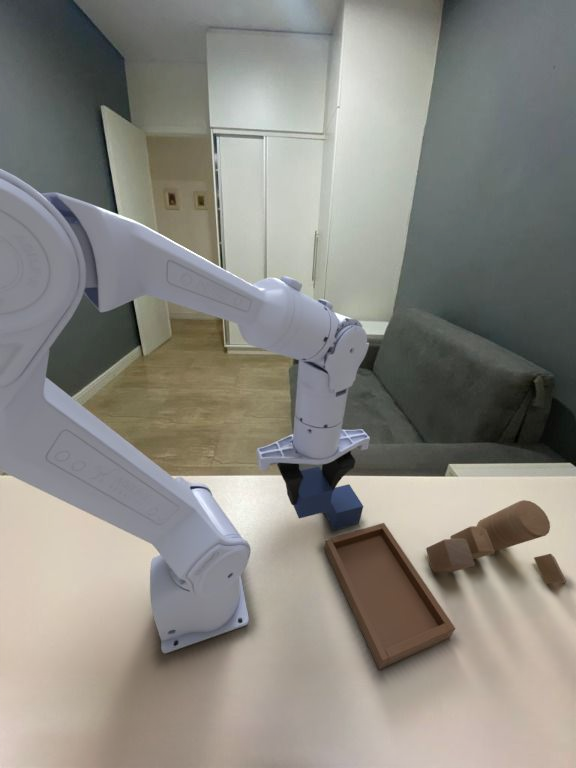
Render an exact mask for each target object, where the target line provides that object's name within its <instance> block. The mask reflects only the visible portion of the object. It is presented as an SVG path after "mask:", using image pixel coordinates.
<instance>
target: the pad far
mask: <svg viewBox="0 0 576 768" xmlns="http://www.w3.org/2000/svg"><path fill="white" fill-rule="evenodd" d="M363 509H364V505H363V503H362V502H361V500H360V499H359V497H358V495H357V493H356V492H355V491H354V489H353V488H352V486H351V485H350V484H344V485H340V486H336V487H335V489H334V490H333V492H332V498H331V504H330V510H329V511H326V512H323V513H324V514H325V517H326V519H327V520H328V523H329V524H330V527H331V529H332V530H333V531H337V530H341V529H344V528H347V527H351V526H355V525H359V524H360V523H361V519H362V518H361V517H362V513H363Z"/></svg>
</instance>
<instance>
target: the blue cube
mask: <svg viewBox="0 0 576 768" xmlns="http://www.w3.org/2000/svg"><path fill="white" fill-rule="evenodd" d="M300 471H301V473H302V475H303V477H304V478H303V480H302V482H301V484H300V487H299V493H298V501H297V504H295V505H292V507H293V508H294V510H295V513H296V515H297V519H303V518H307V517H311V516H315V515H318V514H323V513H324V512H326V511H329V510H330V504H331V498H332V492H333V490H332V488H331V486H330V484H329V483H328V481H327V479H326V478H325V476H324V474H323V472H322V468H321V467H320V466H315V467H309V468H305V469H300Z"/></svg>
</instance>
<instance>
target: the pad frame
mask: <svg viewBox="0 0 576 768" xmlns="http://www.w3.org/2000/svg"><path fill="white" fill-rule="evenodd" d="M323 548H324V551H325V554H326V555H327V558H328V560H329V563H330V565H331V567H332V569H333V571H334V574H335V575H336V578H337V580H338V582H339V584H340V587H341V589H342V591H343V593H344V596H345V598H346V600H347V602H348V604H349V606H350V609H351V611H352V614H353V616H354V618H355V620H356V622H357V624H358V626H359V629H360V631H361V633H362V635H363V637H364V640H365V642H366V644H367V647H368V649H369V651H370V653H371V655H372V657H373V659H374V662H375V664H376V666H377V669H378V670H381V669H383V668H385V667H388V666H390V665H392V664H394V663H397V662H398V661H399V662H400V661H401V660H403V659H405V658H408V657H410V656H412V655H414V654H417V653H419V652H422V651H424V650H425V649H427V648H429V647H432V646H434V645H436V644H438V643H441V642H443V641H445V640H447V639H450V638H451V636H453V633H454V632H455V630H456V626H455V625H454V624H453V623H452V621H451V619H450V618H449V616H448V615H447V613H446V612H445V611H444V609H443V608H442V606H441V605H440V603H439V602H438V600H437V599H436V598H435V596H434V595H433V593H432V591H431V590H430V589H429V587H428V586H427V584H426V583H425V581H424V579H423V578H422V576H421V575H420V574H419V573H418V571H417V569H416V568H415V566H414V565H413V564H412V562H411V561H410V559H409V557H408V555H406V553H405V552H404V550H403V548H402V547H401V546H400V544H399V543H398V541H397V540H396V538H395V537H394V535H393V534H392V532H391V531H390V529H389V528H388V527H387V525H386V523H385V522H382V523H379V524H378V523H377V524H376V525H371V526H368V527H365V528H361V529H358V530H354V531H350V532H348V533H344V534H341V535H337V536H335V537H334V536H333V537H330V538H326V539H325V543H324V547H323Z"/></svg>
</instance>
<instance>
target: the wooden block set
mask: <svg viewBox="0 0 576 768" xmlns="http://www.w3.org/2000/svg"><path fill="white" fill-rule="evenodd" d="M550 528H551V521H550V520H549V517H548V515H547V514H546V512H545V510H543V509H542V507H541V506H539V505H538V504H536V503H535V502H532V501H531V500H527V499H526V500H524V499H523V500H519V501H517V502H515V503H513V504H511V505H509V506H507V507H504V508H502V509H499V511H497V512H494V513H493V514H490V515H488V516H486V517H484V518H482V519H480V520H479V521H478V522H477V524H476V525H473V526H471V525H470V526H468V527H467V528H464V529H462V530H460V531H458V532H456V533H454V534H451V535H450V536H449V538H446V539H445V538H444V539H442V540H440V541H438V542H436V543H434V544H432V545H430V546H428V547H426V549H425V550H426V554H427V558H428V561H429V565H430V568H431V571H432V573H434V574H436V573H437V574H438V573H453V572H454V573H455V572H458V571H462V570H465V569H468V568H473V567H475V565H476V563H475V560H476V559H480V558H484V557H487V556H490V555H493V554H495V551H501V550H503V549H508V548H510V547H513V546H517V545H521V544H523V543H526V542H530V541H533V540H536V539H539V538H542V537H545V536H547V535H548V534H549V533H550V530H551V529H550ZM474 559H475V560H474ZM533 559H534V562H535V564H536V566H537V568H538V570H539V573H540V574H541V577H542V579H543V581H544V584H564V583H567V580H566V578H565V576H564V573H563V571H562V569H561V567H560V566H559V563H558V561H557V559H556V557H555V556H554V555H553V554H552V553H547V554H543V555H538V556H534V557H533Z"/></svg>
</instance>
